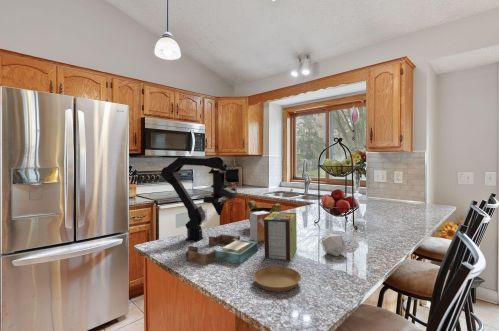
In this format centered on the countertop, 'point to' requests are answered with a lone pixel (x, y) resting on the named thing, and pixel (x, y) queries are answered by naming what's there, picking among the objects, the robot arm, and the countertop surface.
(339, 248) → the white faceted lump
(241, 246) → the cream block
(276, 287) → the plant saucer
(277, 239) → the protein box
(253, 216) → the small box
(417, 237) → the countertop surface
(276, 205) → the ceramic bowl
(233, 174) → the robot arm
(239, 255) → the box
